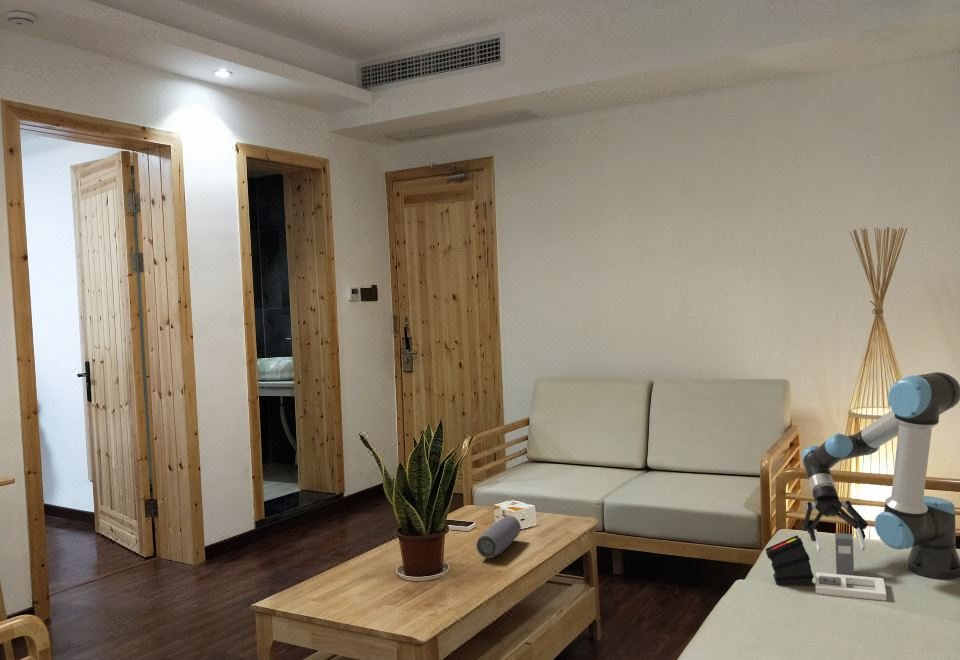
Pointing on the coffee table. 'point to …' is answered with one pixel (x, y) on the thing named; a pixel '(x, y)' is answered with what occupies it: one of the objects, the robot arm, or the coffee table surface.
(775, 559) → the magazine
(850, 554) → the grey tall block
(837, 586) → the white flat rectangular frame
